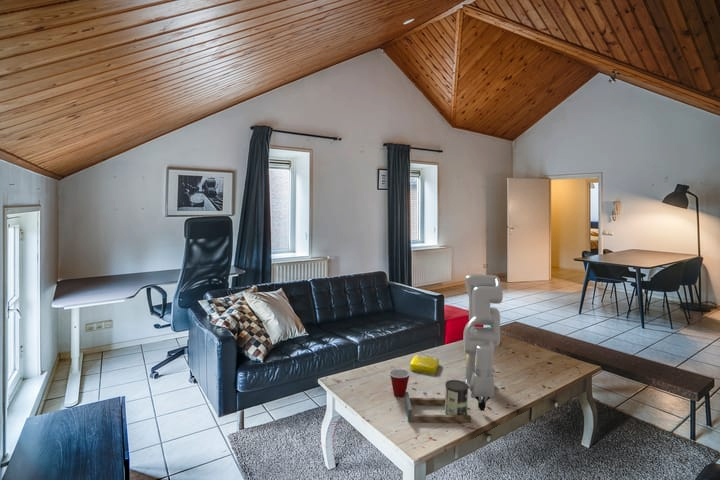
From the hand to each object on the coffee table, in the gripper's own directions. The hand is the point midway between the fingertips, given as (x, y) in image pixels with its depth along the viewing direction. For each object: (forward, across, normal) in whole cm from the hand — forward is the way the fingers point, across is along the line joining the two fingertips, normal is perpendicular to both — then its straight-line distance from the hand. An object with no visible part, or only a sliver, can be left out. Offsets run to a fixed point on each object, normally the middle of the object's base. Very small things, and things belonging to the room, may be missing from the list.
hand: (481, 409), depth 180 cm
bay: (+2, +21, 0) cm, 21 cm away
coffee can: (+3, +12, 0) cm, 12 cm away
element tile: (+3, +19, -50) cm, 53 cm away
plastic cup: (+3, +37, -17) cm, 41 cm away
